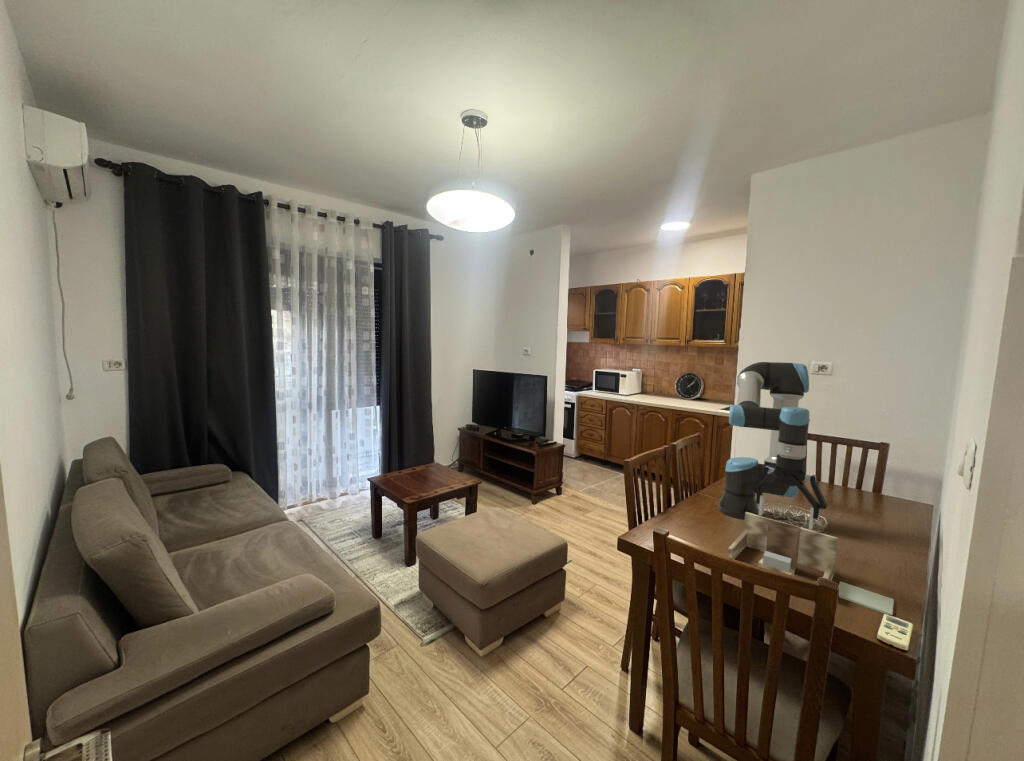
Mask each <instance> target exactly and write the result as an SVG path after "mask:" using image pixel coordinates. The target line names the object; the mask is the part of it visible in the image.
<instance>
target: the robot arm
mask: <svg viewBox="0 0 1024 761" xmlns="http://www.w3.org/2000/svg"><path fill="white" fill-rule="evenodd" d="M736 384H737V386H738V393H737V394H738V395H737V400H736V401H737V402H736V404H732V405H730V407H729V415H728V416H729V417H728V423H729V425H730V426H734V427H739V428H750V429H760V430H768V431H770V440H769V442H770V443H769V454H768V455H769V456H768V457H766V458H765V459H764V463H760V462H759V460H758V459H756V458H752V457H746V456H745V457H744V456H738V457H732V458H730V459H728V460H727V461H726V463H725V464H726V465H725V469H724V470H725V474H724V476H725V478H724V487H723V489H724V490H723V493H722V495H721V497H720V500H719V501H718V508H717V509H718V510H719V512H721V513H722V514H724V515H726V516H729V517H731V518H736V519H740V520H745V513H746V512H748V513H752V514H755V515H759V516H763V514H764V511H765V510H764V509H765V501H766V500H765V498H766V494H768V495H774V496H780V497H781V498H783V497H784V498H785V497H786V498H796V497H797V495H798V494H799V492H801V493H802V494H803V496H804V497H805V498H806V499H807V501H808V502H809V503H810V505H811V507H810V510H809V520H808V529H809V530H813V528H814V523H815V522H814V521H815V520H818V518H819V515H820V510H822V509H823V510H826V509H827V507H828V503H827V501H826V499H825V497H824V495H823V492H822V490H821V488H820V487H819V484H818V483H817V482H818V481H817V480H818V479H817V475H815V474H812V475H809V474H806V473H805V469H806V468H805V467H806V458H805V457H807V446H808V444H807V443H808V433H809V425H810V423H811V422H810V421H811V419H810V410H809V409H807V408H804V407H800V406H799V401H800V400H802V399H803V398H804V396H805V394H807V393H809V392H810V378H809V371H808V368H807V365H806V364H803V363H796V362H778V361H776V362H773V361H772V362H771V361H770V362H769V361H760V362H759V361H758V362H754V363H752V364H750V365H747V366H746V367H744V368H743V369H742V370H741V371H740V373H739V374H738V375H737V379H736ZM762 390H765V391H767V390H768V391H769V396H770V397H771V398H772V399H773V400H772V401H773V403H772V407H765V406H764V407H763V406H761V396H762V395H761V394H762V393H761V392H762ZM804 480H807V482H808V483H810V486H811V488H812V490H813V493H814V494H815V497H816V498H817V500H816V498H815V497H814V495H813V494H812V492H810V490H809V489H808V488H807V487H806V484H805V483H804V482H803V481H804Z"/></svg>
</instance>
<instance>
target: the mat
mask: <svg viewBox="0 0 1024 761" xmlns="http://www.w3.org/2000/svg"><path fill="white" fill-rule="evenodd" d="M838 587H839V597H838V598H841V599H843V600H846V601H848V602H851V603H854V604H857V605H859V606H862V607H865V608H868V609H870V610H873V611H877V612H878V613H881V614H884V613H885V615H887V614H890V615H892V616H893V613H894V603H895V602H894V598H891V597H888V596H884V595H882V594H879V593H876V592H873V591H870V590H867V589H864V588H862V587H859V586H855V585H852V584H849V583H847V582H844V581H839V583H838ZM890 615H889V616H890Z"/></svg>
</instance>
